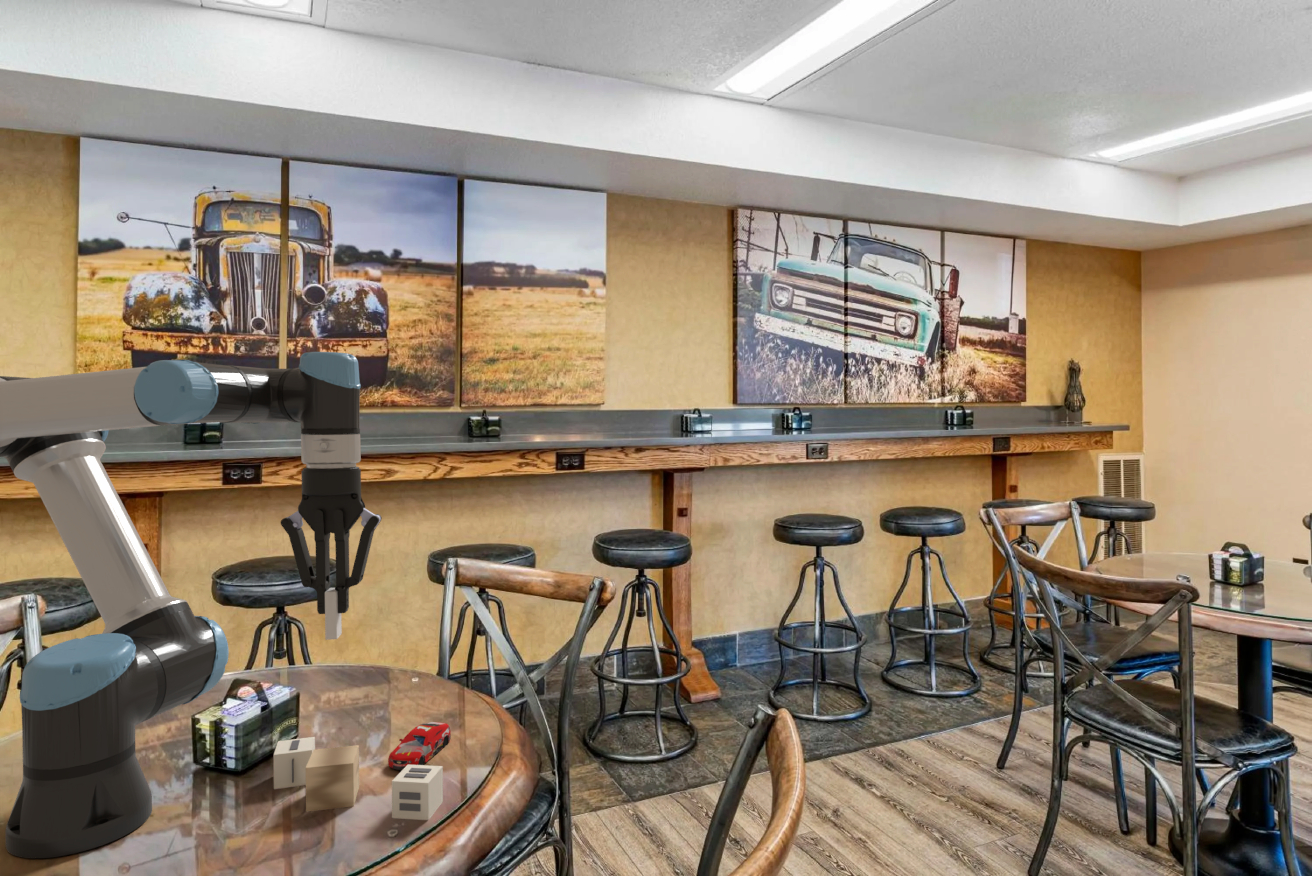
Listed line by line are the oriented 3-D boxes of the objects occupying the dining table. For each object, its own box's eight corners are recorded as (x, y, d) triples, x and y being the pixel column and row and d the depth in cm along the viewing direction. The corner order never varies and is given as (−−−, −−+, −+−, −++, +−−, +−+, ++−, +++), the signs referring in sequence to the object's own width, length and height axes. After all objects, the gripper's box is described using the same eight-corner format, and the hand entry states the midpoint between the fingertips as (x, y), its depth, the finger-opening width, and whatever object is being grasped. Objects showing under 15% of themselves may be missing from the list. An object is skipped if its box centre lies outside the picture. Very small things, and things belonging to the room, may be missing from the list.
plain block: (306, 812, 104) (305, 768, 104) (314, 791, 110) (313, 749, 110) (353, 806, 106) (353, 763, 105) (359, 786, 111) (358, 745, 111)
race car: (414, 777, 115) (413, 750, 115) (381, 773, 116) (381, 746, 116) (457, 740, 128) (456, 716, 128) (427, 737, 129) (426, 713, 129)
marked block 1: (273, 791, 110) (272, 755, 110) (278, 774, 115) (278, 740, 115) (311, 786, 111) (311, 750, 111) (315, 769, 117) (314, 735, 117)
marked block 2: (391, 819, 102) (391, 780, 102) (408, 800, 107) (407, 763, 107) (428, 821, 102) (427, 782, 102) (442, 802, 107) (442, 765, 107)
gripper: (271, 467, 102) (274, 646, 102) (375, 466, 104) (377, 642, 104) (289, 464, 109) (291, 631, 110) (386, 463, 111) (387, 627, 112)
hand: (333, 636), depth 107 cm, fingers closed
